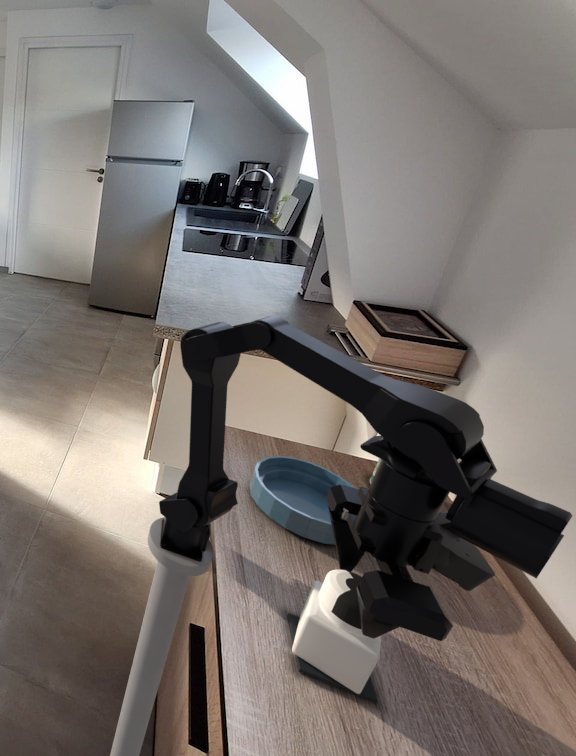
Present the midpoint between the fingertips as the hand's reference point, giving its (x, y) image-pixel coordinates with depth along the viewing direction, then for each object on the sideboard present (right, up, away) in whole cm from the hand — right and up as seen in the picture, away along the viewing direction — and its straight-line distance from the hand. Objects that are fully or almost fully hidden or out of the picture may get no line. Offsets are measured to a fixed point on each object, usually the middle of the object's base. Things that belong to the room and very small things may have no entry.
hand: (355, 600), depth 56 cm
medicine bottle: (-1, -9, +4) cm, 10 cm away
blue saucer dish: (+13, -1, +28) cm, 31 cm away
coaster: (0, -10, +4) cm, 11 cm away
